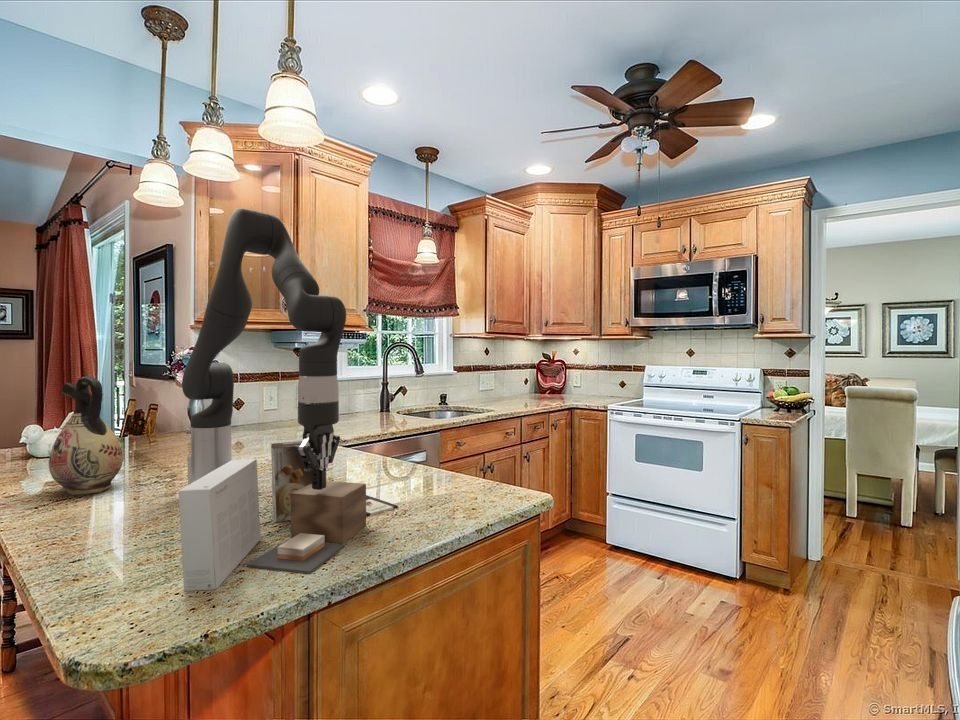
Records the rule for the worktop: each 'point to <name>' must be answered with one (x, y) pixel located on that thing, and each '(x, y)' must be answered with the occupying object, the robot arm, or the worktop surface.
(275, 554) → the mat
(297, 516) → the step
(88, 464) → the ceramic jug
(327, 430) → the robot arm
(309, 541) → the tile
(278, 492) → the coffee box
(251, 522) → the skincare box
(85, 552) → the worktop surface
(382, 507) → the chocolate bar
